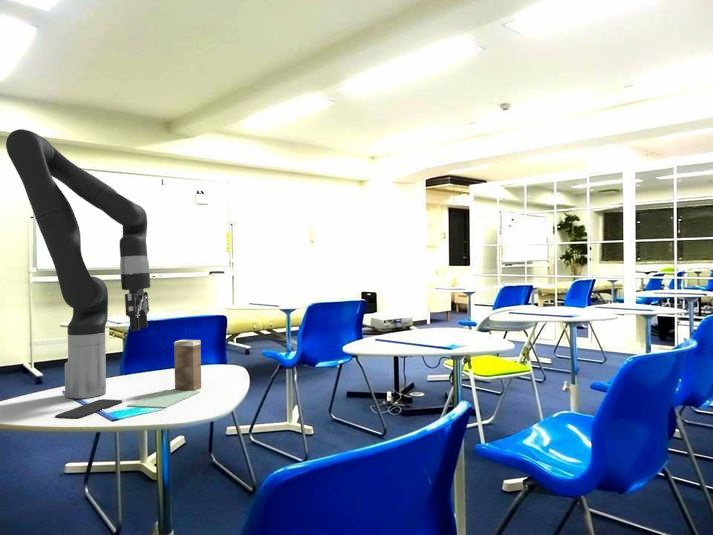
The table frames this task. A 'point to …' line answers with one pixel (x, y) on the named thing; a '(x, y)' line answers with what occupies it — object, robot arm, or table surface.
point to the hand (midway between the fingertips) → (139, 329)
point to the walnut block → (187, 365)
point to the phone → (88, 409)
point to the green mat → (164, 399)
